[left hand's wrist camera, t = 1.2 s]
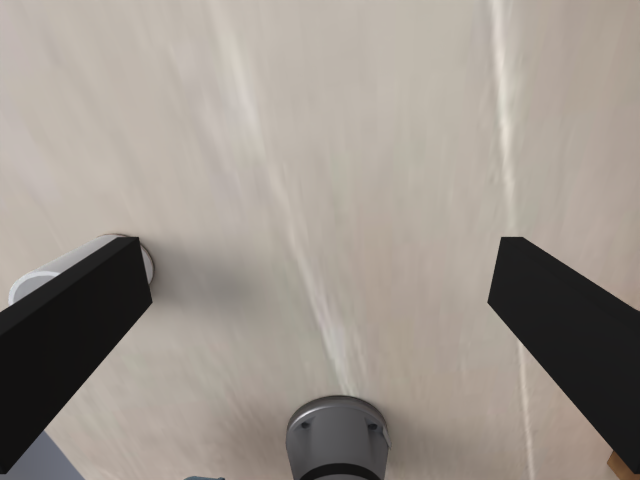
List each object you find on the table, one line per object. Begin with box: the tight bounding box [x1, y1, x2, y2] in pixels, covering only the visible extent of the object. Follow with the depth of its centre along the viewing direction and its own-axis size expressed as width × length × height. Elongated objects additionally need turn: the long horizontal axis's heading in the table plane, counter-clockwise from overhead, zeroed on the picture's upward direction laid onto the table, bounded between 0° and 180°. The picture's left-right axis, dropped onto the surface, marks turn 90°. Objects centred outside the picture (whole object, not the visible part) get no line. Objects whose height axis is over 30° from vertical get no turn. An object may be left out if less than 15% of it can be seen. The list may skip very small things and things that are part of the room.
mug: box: [8, 234, 153, 306], centre depth 36 cm, size 11×9×10 cm
